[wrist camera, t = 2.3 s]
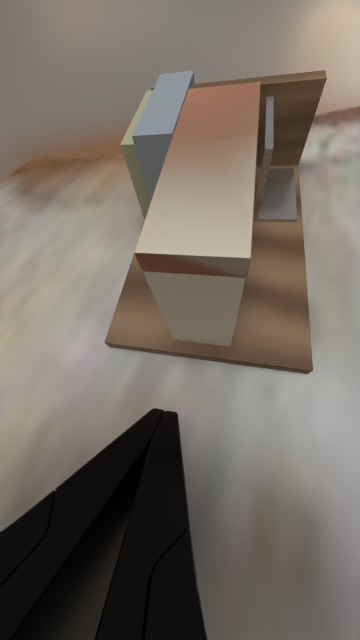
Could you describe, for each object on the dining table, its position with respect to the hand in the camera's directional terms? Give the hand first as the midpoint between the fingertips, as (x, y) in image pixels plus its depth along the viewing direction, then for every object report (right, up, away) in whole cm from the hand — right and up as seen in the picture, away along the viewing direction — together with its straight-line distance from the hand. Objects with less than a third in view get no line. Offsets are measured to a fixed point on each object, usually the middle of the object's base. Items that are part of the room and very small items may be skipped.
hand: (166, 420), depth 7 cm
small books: (0, +17, +19) cm, 25 cm away
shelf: (+4, +11, +16) cm, 20 cm away
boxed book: (+3, +8, +13) cm, 15 cm away
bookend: (+10, +17, +16) cm, 25 cm away
